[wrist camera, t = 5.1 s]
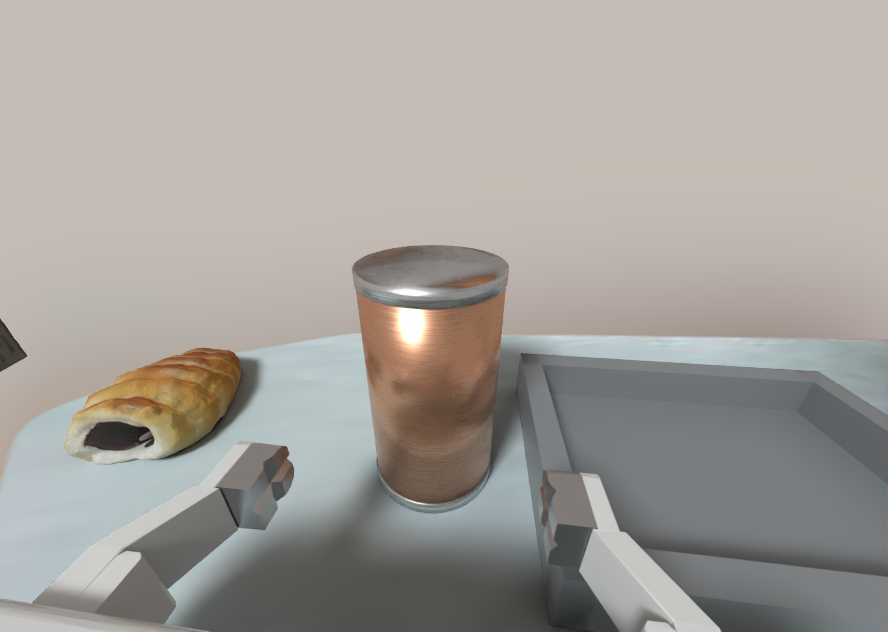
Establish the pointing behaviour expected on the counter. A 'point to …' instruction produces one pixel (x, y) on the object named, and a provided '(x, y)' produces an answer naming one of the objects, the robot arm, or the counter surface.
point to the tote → (721, 486)
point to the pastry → (156, 408)
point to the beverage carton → (9, 348)
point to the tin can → (432, 368)
